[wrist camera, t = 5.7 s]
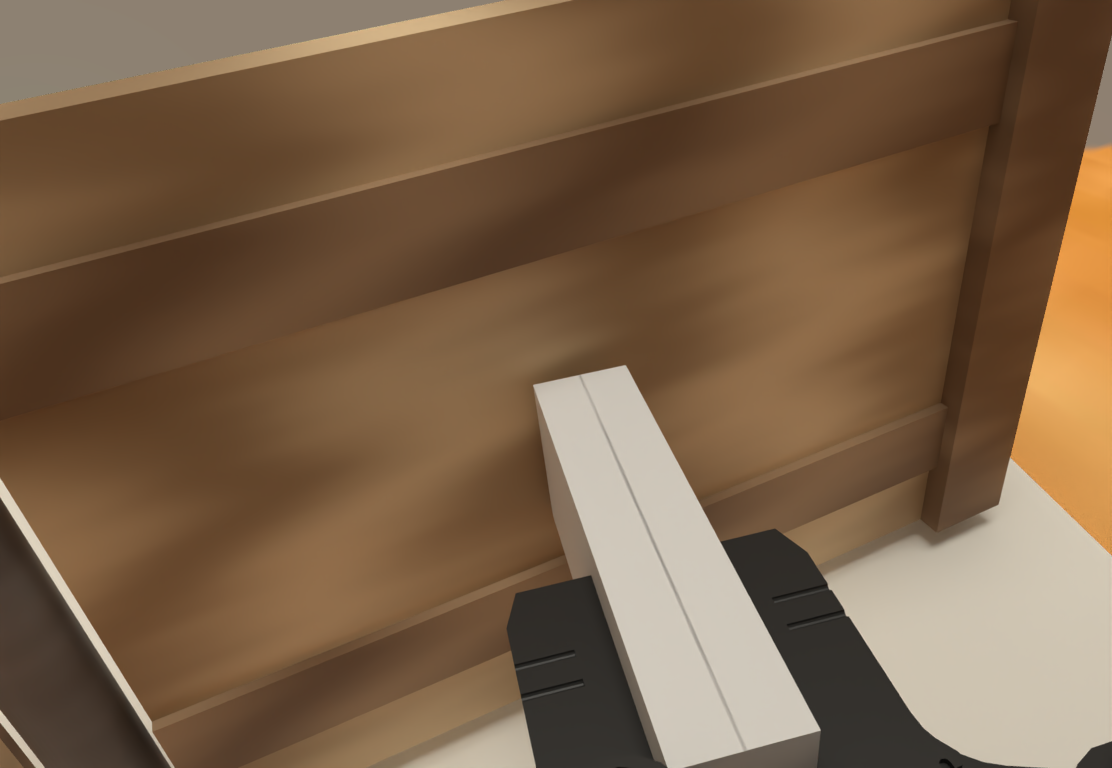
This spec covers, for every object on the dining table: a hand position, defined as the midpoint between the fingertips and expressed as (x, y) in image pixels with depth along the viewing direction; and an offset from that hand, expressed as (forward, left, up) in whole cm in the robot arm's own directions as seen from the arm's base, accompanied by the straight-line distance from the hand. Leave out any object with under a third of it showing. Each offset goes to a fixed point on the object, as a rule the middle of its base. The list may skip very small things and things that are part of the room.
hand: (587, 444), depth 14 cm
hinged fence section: (0, -1, -6) cm, 6 cm away
